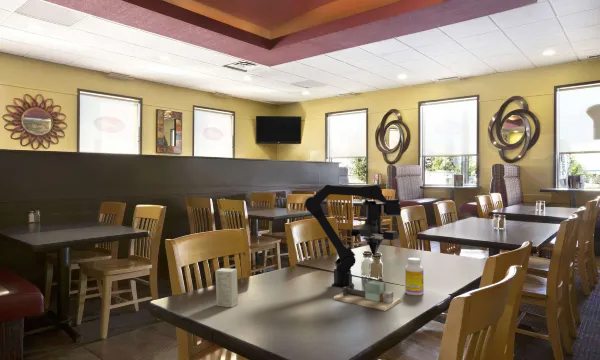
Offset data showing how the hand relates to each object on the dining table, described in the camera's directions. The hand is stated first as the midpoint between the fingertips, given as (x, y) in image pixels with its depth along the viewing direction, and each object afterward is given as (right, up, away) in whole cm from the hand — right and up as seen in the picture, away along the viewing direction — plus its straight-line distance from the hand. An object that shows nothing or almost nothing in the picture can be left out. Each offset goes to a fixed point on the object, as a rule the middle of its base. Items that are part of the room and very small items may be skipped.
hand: (374, 255), depth 157 cm
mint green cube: (-4, -11, -21) cm, 24 cm away
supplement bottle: (+13, -12, -11) cm, 21 cm away
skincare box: (-55, -13, -23) cm, 61 cm away
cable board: (-6, -12, -19) cm, 24 cm away
